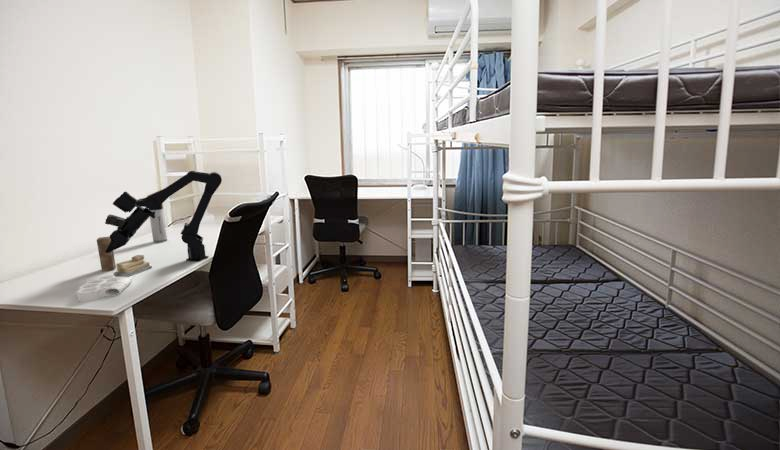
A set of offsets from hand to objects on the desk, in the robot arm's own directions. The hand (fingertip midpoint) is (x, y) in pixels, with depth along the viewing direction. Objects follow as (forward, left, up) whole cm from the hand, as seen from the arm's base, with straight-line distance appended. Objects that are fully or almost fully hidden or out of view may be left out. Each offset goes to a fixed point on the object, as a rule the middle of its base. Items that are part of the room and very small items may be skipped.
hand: (109, 249), depth 165 cm
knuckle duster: (-20, +19, -9) cm, 29 cm away
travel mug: (+19, -41, -8) cm, 46 cm away
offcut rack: (-12, 0, -8) cm, 14 cm away
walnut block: (+1, +1, -8) cm, 8 cm away
